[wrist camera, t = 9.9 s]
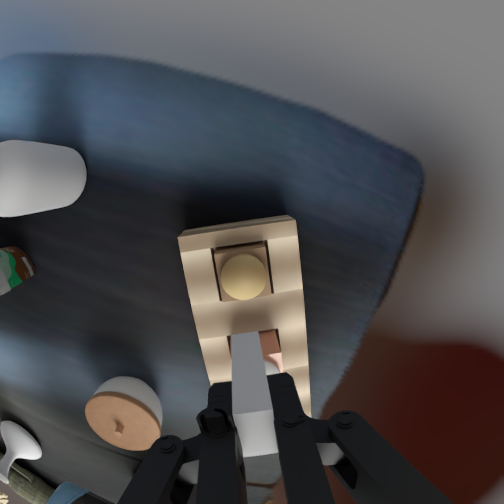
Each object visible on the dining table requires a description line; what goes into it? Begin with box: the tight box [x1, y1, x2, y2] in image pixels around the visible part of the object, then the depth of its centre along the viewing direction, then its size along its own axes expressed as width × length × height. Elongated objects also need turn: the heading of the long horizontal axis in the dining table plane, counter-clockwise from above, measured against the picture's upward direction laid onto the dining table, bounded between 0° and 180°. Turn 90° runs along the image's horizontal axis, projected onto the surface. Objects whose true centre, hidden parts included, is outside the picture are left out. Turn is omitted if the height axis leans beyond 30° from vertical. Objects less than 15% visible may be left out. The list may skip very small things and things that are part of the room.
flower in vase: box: [0, 421, 42, 504], centre depth 30 cm, size 13×11×25 cm
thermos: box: [0, 452, 55, 504], centre depth 42 cm, size 9×12×35 cm
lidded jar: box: [85, 376, 163, 451], centre depth 35 cm, size 11×11×9 cm
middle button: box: [231, 330, 283, 375], centre depth 31 cm, size 5×5×6 cm
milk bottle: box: [0, 140, 87, 217], centre depth 23 cm, size 8×8×20 cm
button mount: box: [178, 215, 311, 417], centre depth 36 cm, size 29×12×5 cm, turn 8°
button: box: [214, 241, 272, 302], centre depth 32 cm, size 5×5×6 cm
